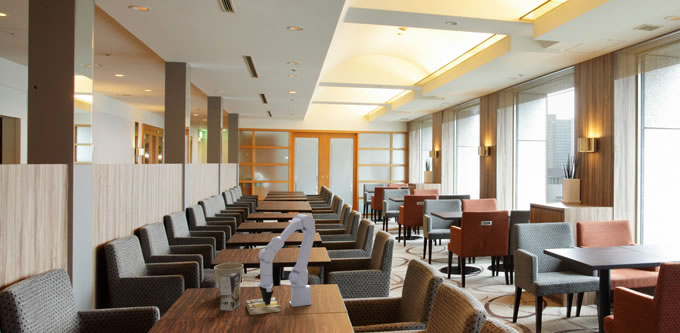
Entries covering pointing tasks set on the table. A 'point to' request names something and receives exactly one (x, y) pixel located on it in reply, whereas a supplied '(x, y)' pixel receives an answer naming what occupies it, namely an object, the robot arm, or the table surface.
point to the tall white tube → (262, 300)
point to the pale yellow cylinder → (265, 305)
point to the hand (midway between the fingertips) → (266, 303)
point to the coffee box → (230, 291)
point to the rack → (261, 308)
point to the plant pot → (226, 268)
